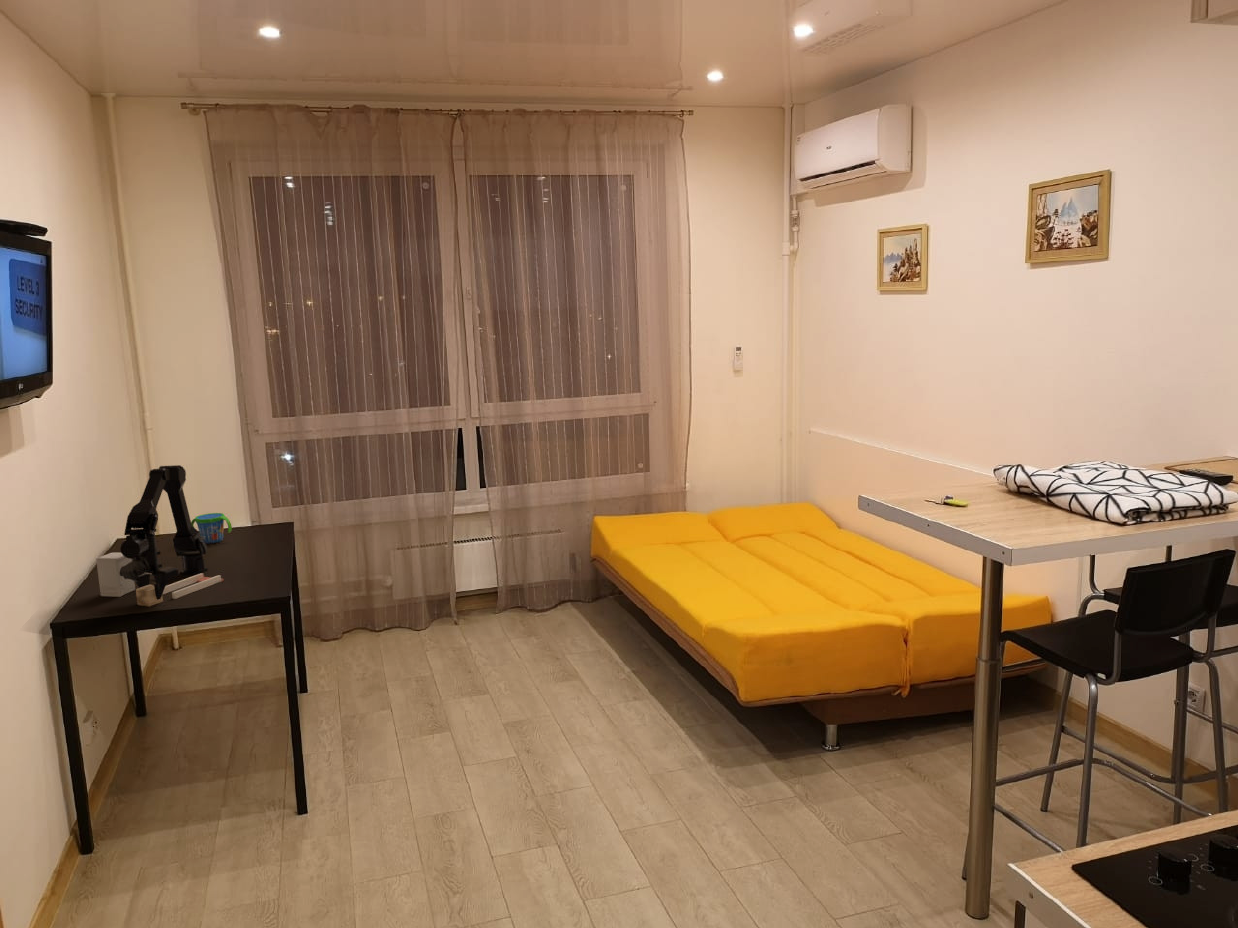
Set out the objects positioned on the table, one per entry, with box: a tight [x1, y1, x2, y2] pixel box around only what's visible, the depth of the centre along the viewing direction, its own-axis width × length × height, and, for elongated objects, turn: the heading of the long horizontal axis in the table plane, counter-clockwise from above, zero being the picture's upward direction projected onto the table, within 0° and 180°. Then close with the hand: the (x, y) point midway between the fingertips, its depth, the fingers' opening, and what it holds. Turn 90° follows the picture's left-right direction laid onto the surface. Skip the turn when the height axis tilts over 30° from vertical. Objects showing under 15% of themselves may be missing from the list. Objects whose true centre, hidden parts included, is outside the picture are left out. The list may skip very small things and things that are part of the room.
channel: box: [162, 572, 225, 600], centre depth 306 cm, size 9×20×2 cm, turn 158°
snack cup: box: [191, 512, 233, 544], centre depth 365 cm, size 16×10×10 cm
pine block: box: [135, 584, 164, 607], centre depth 292 cm, size 5×5×5 cm
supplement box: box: [95, 552, 136, 598], centre depth 303 cm, size 7×7×13 cm
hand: (152, 598), depth 293 cm, fingers closed on pine block, 5 cm apart
